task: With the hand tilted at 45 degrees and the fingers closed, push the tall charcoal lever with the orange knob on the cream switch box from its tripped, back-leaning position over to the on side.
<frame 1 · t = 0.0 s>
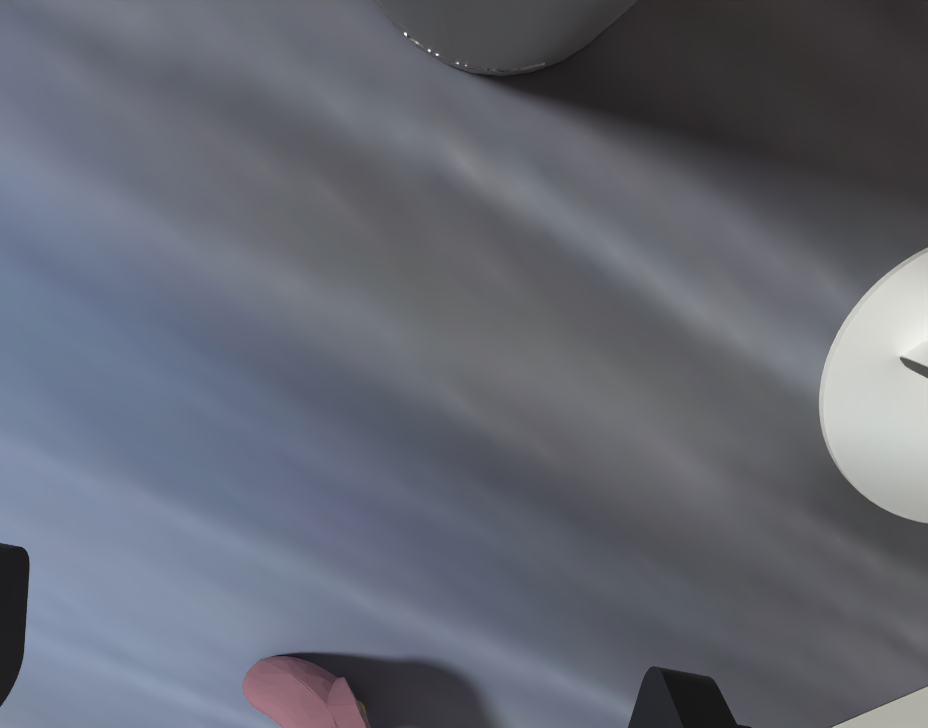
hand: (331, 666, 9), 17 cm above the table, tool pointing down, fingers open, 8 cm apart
video game controller: (346, 723, 31), on the table
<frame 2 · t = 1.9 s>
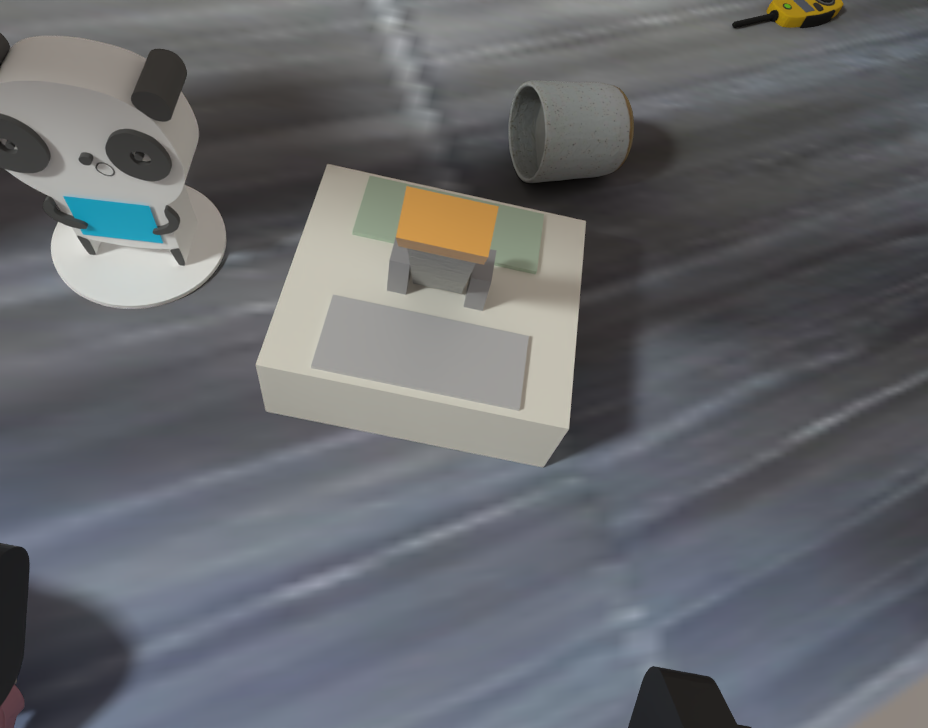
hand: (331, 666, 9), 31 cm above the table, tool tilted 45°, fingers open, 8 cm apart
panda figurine: (137, 242, 49), on the table
yellow walkie-talkie: (779, 21, 76), on the table
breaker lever: (442, 256, 35), point 14 cm above the table, hinge at -30.0°
ceramic mug: (549, 156, 60), on the table
switch box: (428, 336, 49), on the table
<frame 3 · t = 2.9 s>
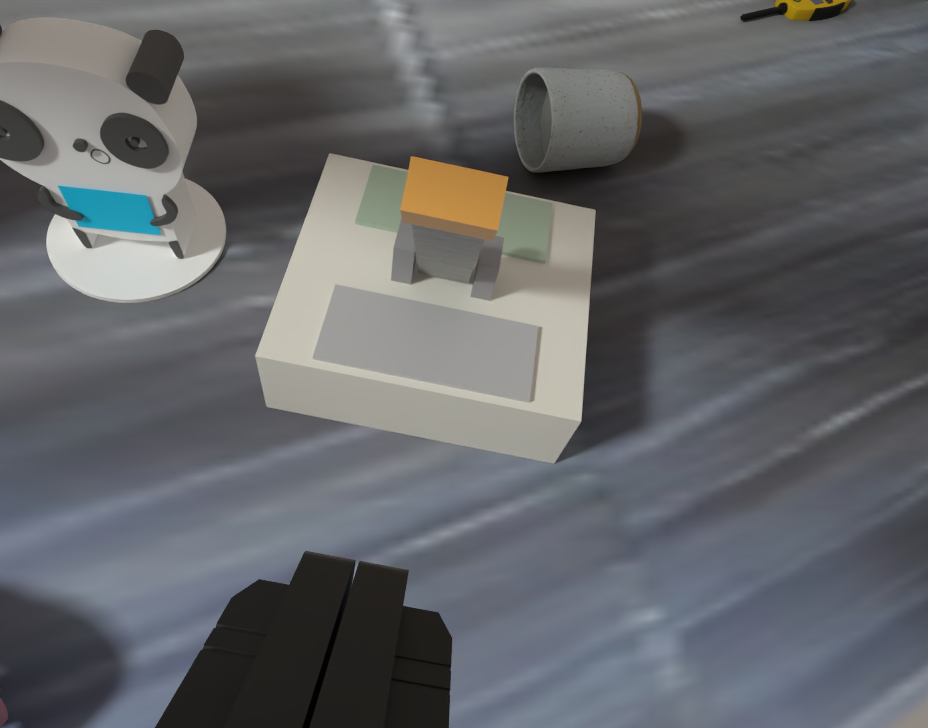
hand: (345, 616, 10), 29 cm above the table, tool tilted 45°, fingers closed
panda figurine: (135, 236, 48), on the table
yellow walkie-talkie: (788, 14, 75), on the table
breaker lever: (448, 239, 34), point 14 cm above the table, hinge at -30.0°
ceramic mug: (555, 146, 59), on the table
switch box: (433, 329, 47), on the table
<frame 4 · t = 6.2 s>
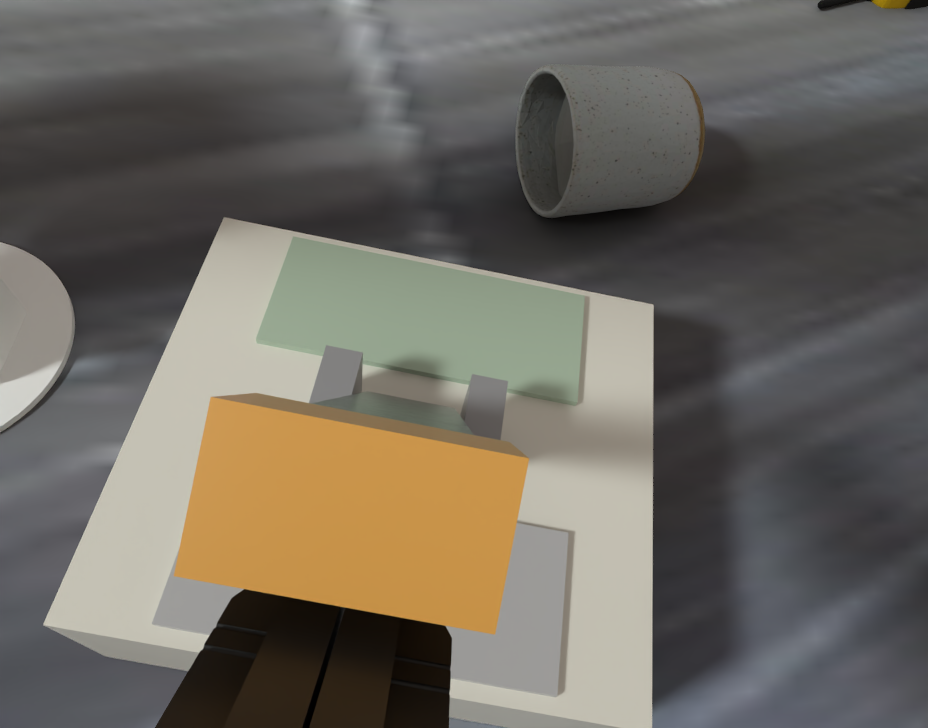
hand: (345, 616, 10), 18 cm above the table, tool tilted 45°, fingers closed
yellow walkie-talkie: (876, 1, 57), on the table
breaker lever: (394, 444, 16), point 14 cm above the table, hinge at -30.0°, touching gripper
ceramic mug: (574, 176, 42), on the table
switch box: (395, 494, 30), on the table
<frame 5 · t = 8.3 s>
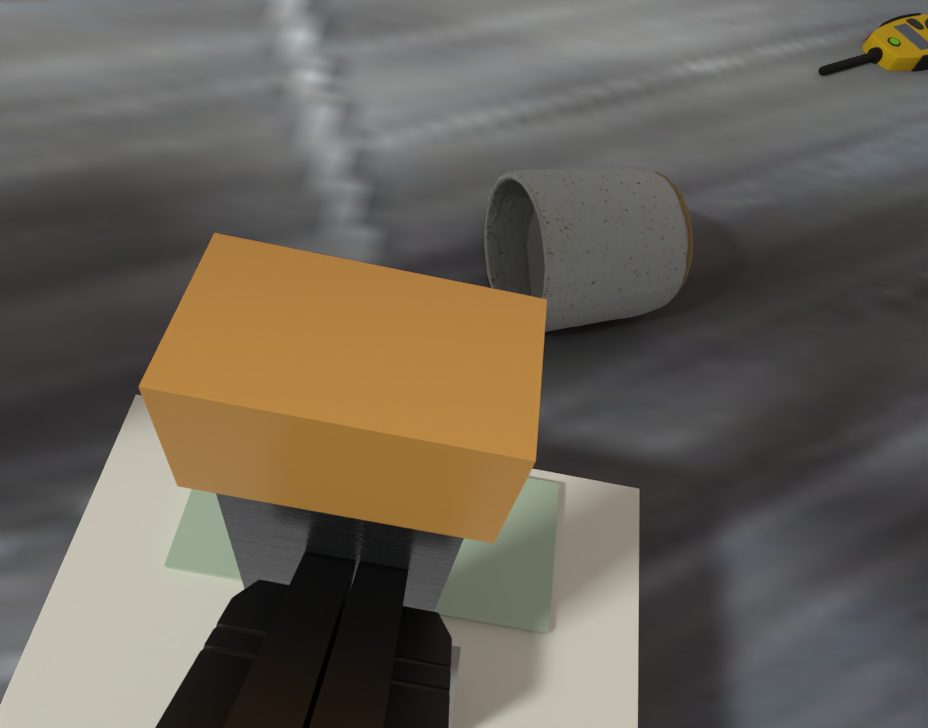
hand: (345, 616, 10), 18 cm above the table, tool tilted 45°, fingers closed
yellow walkie-talkie: (880, 62, 53), on the table
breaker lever: (346, 601, 14), point 15 cm above the table, hinge at 5.6°, touching gripper
ceramic mug: (550, 275, 38), on the table
switch box: (342, 705, 26), on the table
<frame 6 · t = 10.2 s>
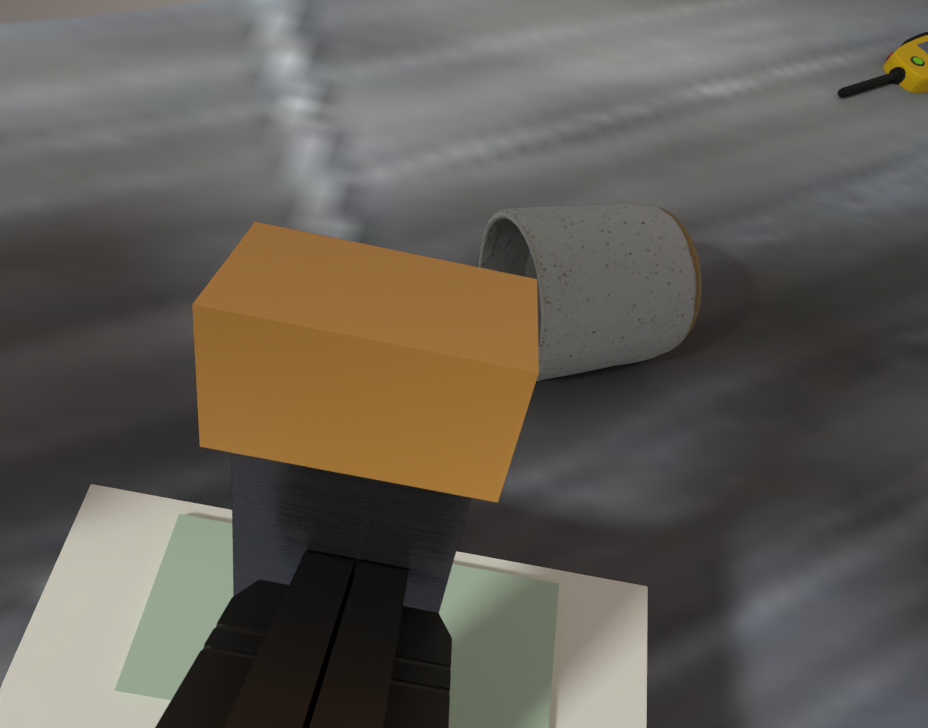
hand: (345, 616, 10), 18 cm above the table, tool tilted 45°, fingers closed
yellow walkie-talkie: (902, 82, 50), on the table
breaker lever: (331, 676, 13), point 14 cm above the table, hinge at 23.3°, touching gripper
ceramic mug: (549, 313, 35), on the table
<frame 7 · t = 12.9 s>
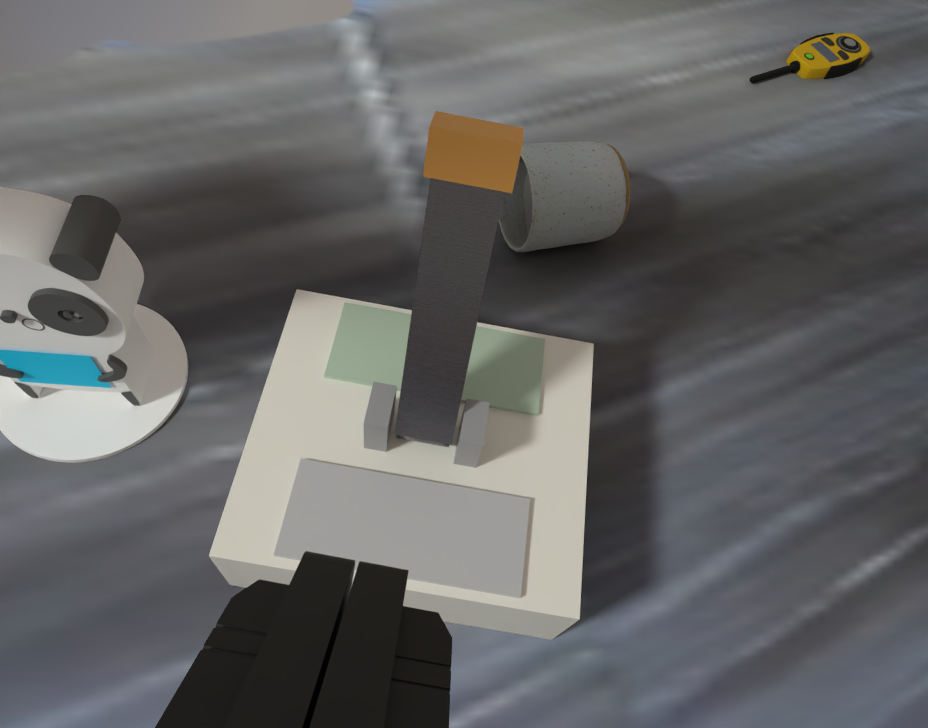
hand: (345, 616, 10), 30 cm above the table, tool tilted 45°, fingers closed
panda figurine: (88, 378, 44), on the table
yellow walkie-talkie: (801, 71, 69), on the table
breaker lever: (446, 306, 32), point 14 cm above the table, hinge at 23.3°
ceramic mug: (540, 217, 55), on the table
switch box: (417, 477, 43), on the table
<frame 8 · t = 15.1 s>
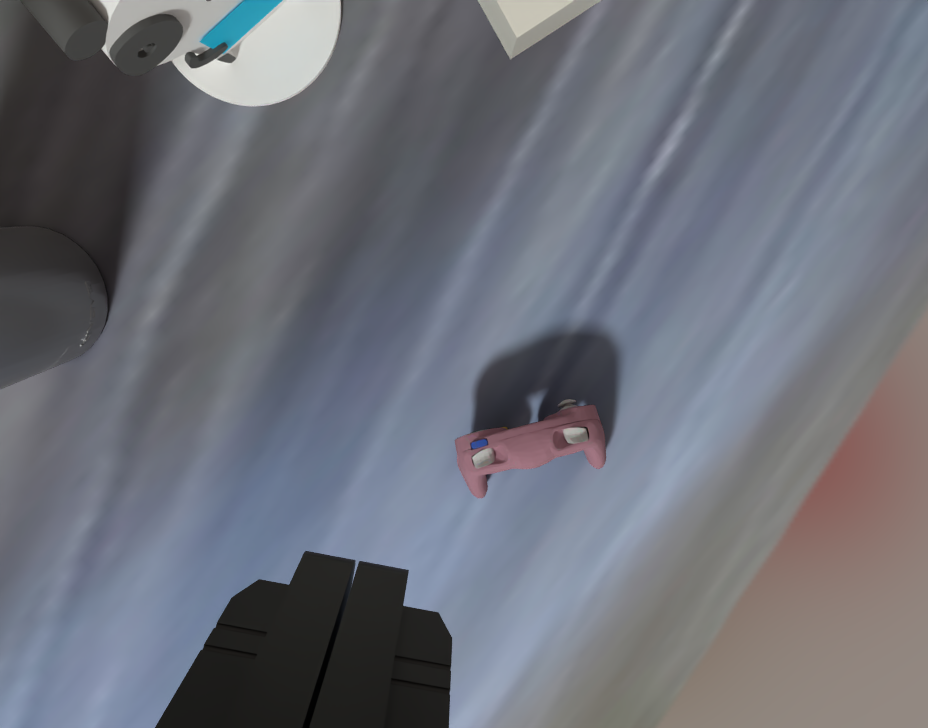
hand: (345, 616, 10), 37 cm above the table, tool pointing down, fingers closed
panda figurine: (244, 11, 42), on the table
video game controller: (527, 437, 49), on the table
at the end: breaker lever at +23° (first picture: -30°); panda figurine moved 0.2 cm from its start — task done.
